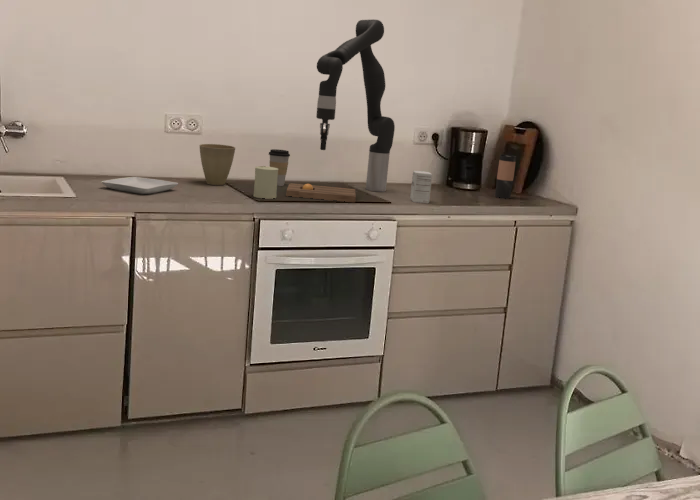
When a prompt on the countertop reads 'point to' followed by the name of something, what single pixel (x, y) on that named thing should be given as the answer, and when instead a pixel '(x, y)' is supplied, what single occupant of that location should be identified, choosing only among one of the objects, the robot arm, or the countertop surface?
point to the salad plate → (139, 185)
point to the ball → (308, 187)
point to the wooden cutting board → (322, 193)
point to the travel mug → (505, 176)
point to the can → (265, 182)
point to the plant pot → (216, 162)
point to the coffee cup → (279, 163)
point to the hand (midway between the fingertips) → (322, 149)
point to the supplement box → (421, 186)
